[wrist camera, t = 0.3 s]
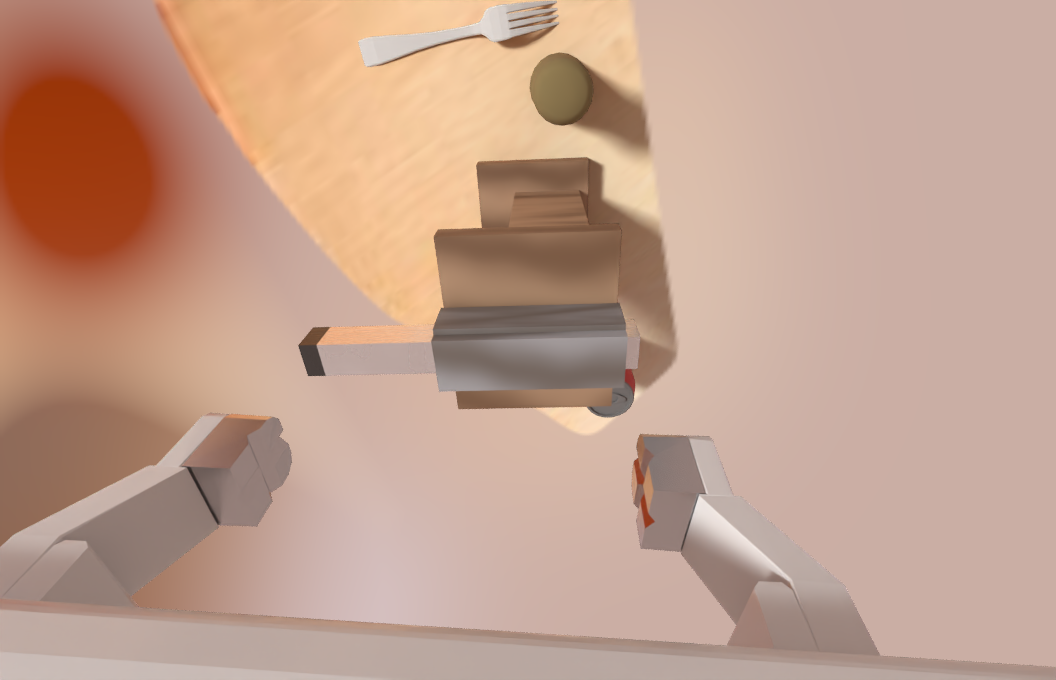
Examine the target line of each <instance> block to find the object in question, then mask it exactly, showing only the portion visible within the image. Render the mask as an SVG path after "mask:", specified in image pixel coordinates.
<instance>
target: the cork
mask: <svg viewBox="0 0 1056 680" xmlns="http://www.w3.org/2000/svg"><path fill="white" fill-rule="evenodd" d="M530 92H531V97H532V100H533V102H534V104H535V106H536V108H537V110H538V112H539V114H540V115H541V116H542V117H543V118H544V119H545V120H546V121H548V122H550V123H552V124H555V125H568V124H572V123H574V122H576V121H577V120H579V119H581V118H582V117H583V115H584V114H585V113H586V112H587V111H588V109H589V107H590V104H591V102H592V97H593V83H592V79H591V77H590V74H589V72H588V70H587V69H586V68H585V67H584V66H583V65H582V64H581V63H580V62H579V60H578V59H577V58H575V57H573V56H571V55H569V54H565V53H555V54H551V55H549V56H547V57H545V58H544V59H542V60H541V61H540V62H539V64H538V65H537V66H536V67H535V69H534V71H533V74H532V76H531V82H530Z"/></svg>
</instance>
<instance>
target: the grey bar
mask: <svg viewBox="0 0 1056 680" xmlns="http://www.w3.org/2000/svg"><path fill="white" fill-rule="evenodd" d="M625 322H626V332H627V335H628V341H627V355H626V369H638V359H639V347H640V335H639V332H638V329H637V326H636V323H635V321H634V319H627V320H625ZM434 325H435V324H433V325H397V326H362V327H361V326H359V327H358V326H356V327H318V328H313V329H312V330H311V331H310V332H309V333H308V335H307V336H306V337H305V338H304V339H303V340H302V342H301V343H300V344H299V349H300V352H301V355H302V358H303V361H304V364H305V367H306V371H307V374H308V376H331V375H378V374H422V373H436V369H435V363H434V357H433V350H432V344H431V340H432V337H433V327H434Z"/></svg>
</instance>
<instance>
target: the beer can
mask: <svg viewBox="0 0 1056 680" xmlns="http://www.w3.org/2000/svg"><path fill="white" fill-rule="evenodd" d="M634 392H635V380H634V377H633V374H632V370H631V369H625V383H624V388H612V404H611V406H595V407H587V408H588V409H589V410H590V411H591V412H592V413H594V414H595V415H597V416H601V417H615V416H619V415H621V414H623V413H624V412H626V411H627V410H628V409H629V408H630V407H631V405H632V403H633V400H634Z"/></svg>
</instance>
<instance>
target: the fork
mask: <svg viewBox="0 0 1056 680" xmlns="http://www.w3.org/2000/svg"><path fill="white" fill-rule="evenodd" d="M555 3H557V1H537V2H525V3H515V4H503V5H497V6H494V7H490V8H488V9H487V10H486V11H485V13H484V15H483V18H482V19H481V20H480V22H478V23H475V24H472V25H468V26H464V27H459V28H453V29H448V30H442V31H436V32H428V33H418V34H406V35H387V36H375V37H369V38H364V39H362V40H359V42H358V43H359V46H360V50H361V53H362V57H363V60H364V64H365V66H367V67H372V66H377V65H381V64H384V63H386V62H389V61H392V60H395V59H397V58H400V57H402V56H405V55H408V54H410V53H413V52H415V51H418V50H421V49H424V48H428V47H431V46H434V45H437V44H441V43H445V42H449V41H452V40H456V39H460V38H464V37H469V36H473V35H480V34H482V35H484V36H486V37H487V38H488V39H489V40H490V41H493V42H498V41H503V40H507V39H510V38H512V37H516V36H520V35H523V34H527V33H531V32H534V31H538V30H541V29H545V28H548V27H551V26H554V25H558V24H559V22H554V23H547V24H541V25H534V26H528V27H522V28H517V29H512V30H511V28H515V27H519V26H523V25H527V24H532V23H536V22H540V21H544V20H548V19H552V18H556V17H558V15H550V16H542V17H536V18H530V19H524V20H518V21H512V22H509V21H510V20H515V19H519V18H524V17H529V16H534V15H539V14H544V13H548V12H553V11H556V10H558V9H557V8H552V9H541V10H533V11H525V12H518V13H511V14H507V13H509V12H514V11H519V10H524V9H530V8H535V7H540V6H545V5H550V4H555Z"/></svg>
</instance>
